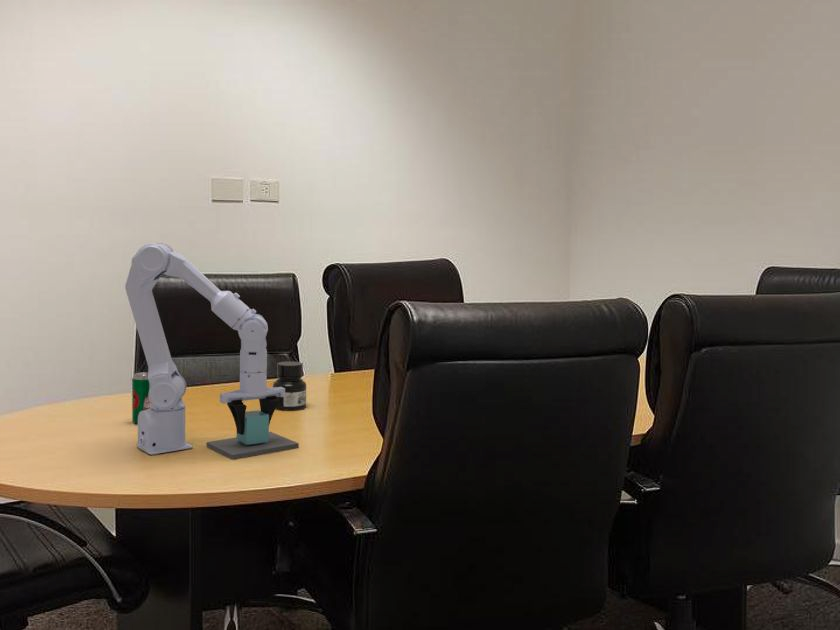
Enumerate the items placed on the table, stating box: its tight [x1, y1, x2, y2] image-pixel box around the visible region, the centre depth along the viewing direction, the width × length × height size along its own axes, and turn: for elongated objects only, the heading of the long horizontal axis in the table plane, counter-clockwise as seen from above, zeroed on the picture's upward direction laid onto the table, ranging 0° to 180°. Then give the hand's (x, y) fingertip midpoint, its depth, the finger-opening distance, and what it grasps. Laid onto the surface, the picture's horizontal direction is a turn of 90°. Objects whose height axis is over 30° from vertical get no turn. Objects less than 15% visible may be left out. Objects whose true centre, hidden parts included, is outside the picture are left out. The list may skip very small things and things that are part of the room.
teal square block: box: [236, 409, 270, 445], centre depth 171 cm, size 5×5×6 cm
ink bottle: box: [272, 361, 307, 411], centre depth 211 cm, size 10×9×12 cm
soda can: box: [131, 371, 151, 425], centre depth 190 cm, size 5×5×12 cm
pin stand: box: [206, 431, 300, 460], centre depth 171 cm, size 16×12×6 cm
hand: (252, 432), depth 171 cm, fingers closed on teal square block, 5 cm apart
